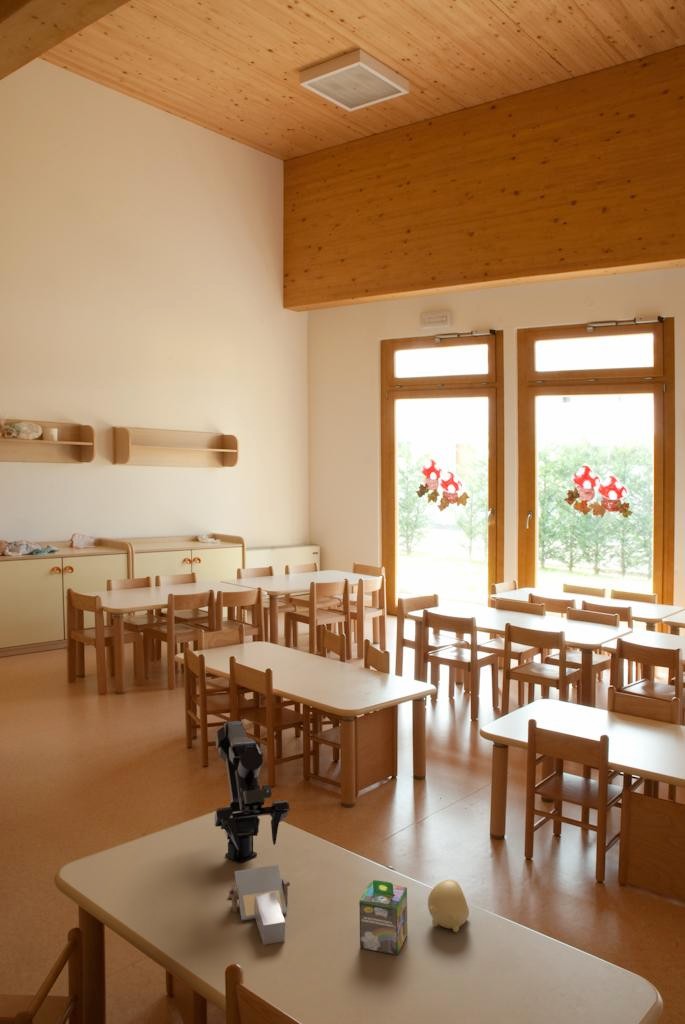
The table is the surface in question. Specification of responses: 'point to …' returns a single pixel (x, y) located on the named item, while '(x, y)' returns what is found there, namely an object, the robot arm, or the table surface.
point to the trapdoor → (258, 888)
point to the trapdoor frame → (234, 894)
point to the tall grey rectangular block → (269, 918)
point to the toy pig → (448, 905)
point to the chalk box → (383, 917)
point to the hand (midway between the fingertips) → (256, 846)
